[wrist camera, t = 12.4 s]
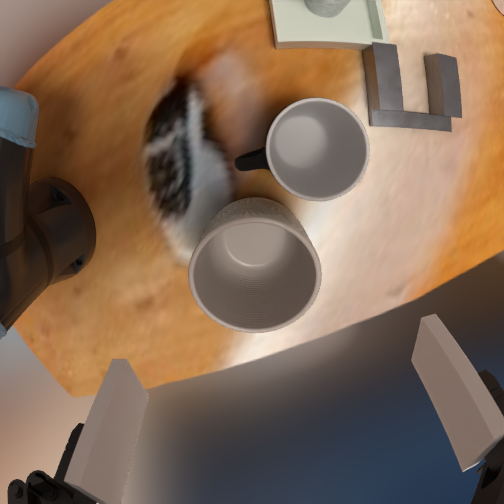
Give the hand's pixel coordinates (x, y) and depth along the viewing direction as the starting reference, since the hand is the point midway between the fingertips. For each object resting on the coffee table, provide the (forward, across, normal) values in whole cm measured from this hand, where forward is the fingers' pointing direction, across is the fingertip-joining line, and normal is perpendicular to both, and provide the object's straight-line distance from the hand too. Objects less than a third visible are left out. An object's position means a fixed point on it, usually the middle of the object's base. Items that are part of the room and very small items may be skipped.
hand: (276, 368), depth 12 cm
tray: (+26, +12, +24) cm, 37 cm away
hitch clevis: (+25, +21, +13) cm, 35 cm away
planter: (+26, -1, -4) cm, 26 cm away
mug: (+26, +4, +6) cm, 27 cm away
